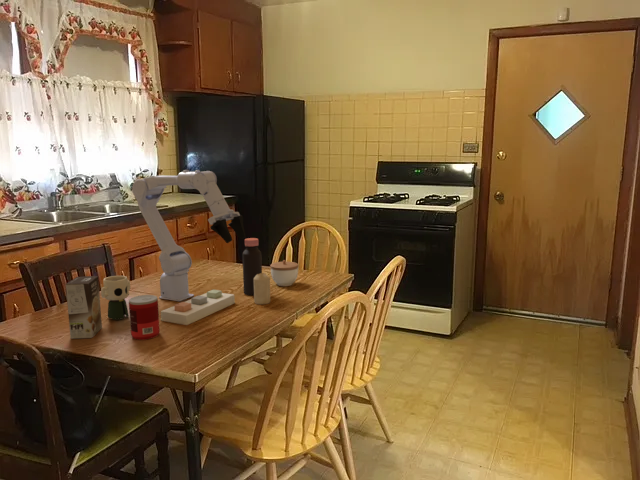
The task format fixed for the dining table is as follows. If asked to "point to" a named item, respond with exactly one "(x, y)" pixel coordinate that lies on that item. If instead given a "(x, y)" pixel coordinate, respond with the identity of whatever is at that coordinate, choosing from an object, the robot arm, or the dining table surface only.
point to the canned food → (144, 317)
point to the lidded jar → (284, 272)
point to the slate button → (199, 300)
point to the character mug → (116, 295)
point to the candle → (261, 289)
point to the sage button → (214, 294)
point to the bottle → (251, 264)
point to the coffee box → (84, 307)
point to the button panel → (197, 310)
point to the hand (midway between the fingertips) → (236, 240)
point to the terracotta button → (182, 307)
